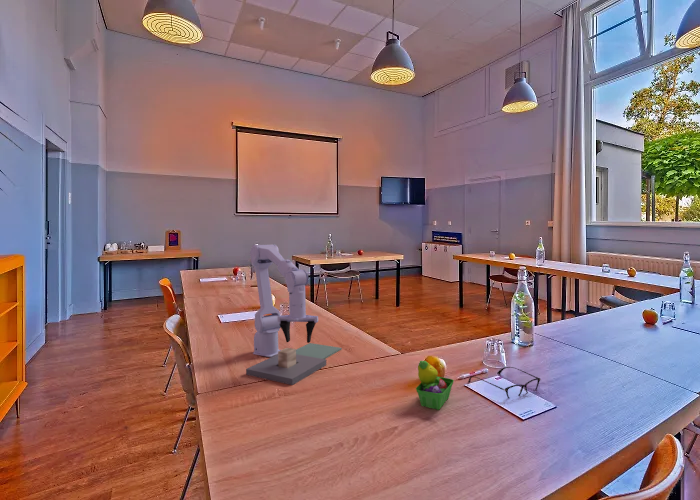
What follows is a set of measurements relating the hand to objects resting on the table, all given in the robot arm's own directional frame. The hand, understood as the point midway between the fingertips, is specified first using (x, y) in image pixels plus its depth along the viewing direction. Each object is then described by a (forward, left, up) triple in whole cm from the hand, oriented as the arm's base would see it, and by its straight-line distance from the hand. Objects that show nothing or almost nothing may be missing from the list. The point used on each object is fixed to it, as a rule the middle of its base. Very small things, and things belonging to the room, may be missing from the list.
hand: (298, 341), depth 133 cm
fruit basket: (+50, -4, -10) cm, 51 cm away
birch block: (-3, -3, -10) cm, 10 cm away
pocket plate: (-3, -3, -10) cm, 10 cm away
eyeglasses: (+66, +16, -10) cm, 69 cm away
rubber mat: (-5, +17, -10) cm, 20 cm away
